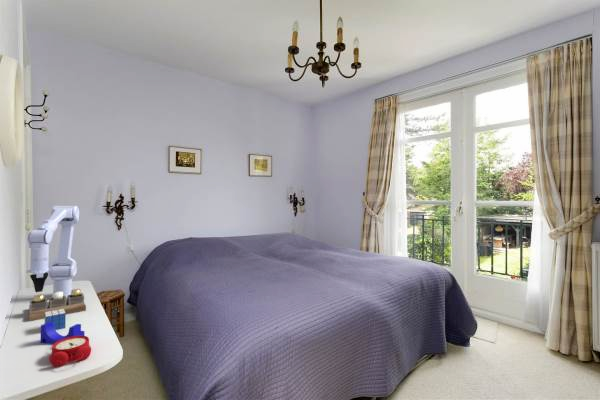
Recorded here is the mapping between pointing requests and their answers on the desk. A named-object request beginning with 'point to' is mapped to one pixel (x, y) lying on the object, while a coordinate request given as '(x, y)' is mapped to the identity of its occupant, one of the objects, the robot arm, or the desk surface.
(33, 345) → the desk surface
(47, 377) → the desk surface
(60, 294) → the knob middle
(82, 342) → the alarm clock
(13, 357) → the desk surface
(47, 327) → the blue curved block
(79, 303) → the knob panel
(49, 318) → the puzzle toy
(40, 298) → the knob
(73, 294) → the knob
